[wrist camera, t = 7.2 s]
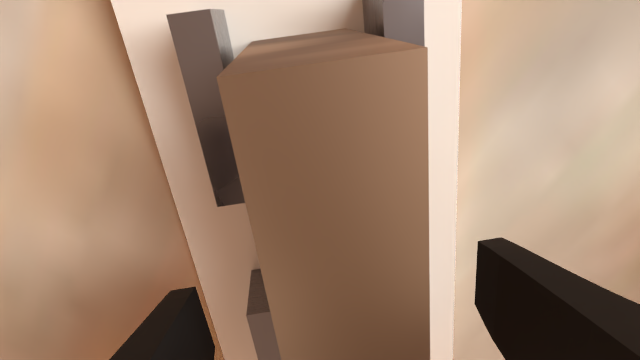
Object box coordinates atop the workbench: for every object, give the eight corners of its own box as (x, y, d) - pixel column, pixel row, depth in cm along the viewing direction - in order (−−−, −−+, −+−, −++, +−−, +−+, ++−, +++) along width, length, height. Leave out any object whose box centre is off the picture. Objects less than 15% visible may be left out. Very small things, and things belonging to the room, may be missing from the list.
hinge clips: (395, -14, 11) (423, -21, 9) (409, 340, 17) (428, 388, 15) (189, 14, 11) (166, 14, 9) (273, 363, 17) (272, 416, 14)
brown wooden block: (371, 24, 11) (485, 38, 5) (390, 324, 16) (461, 524, 10) (252, 40, 11) (215, 76, 5) (307, 338, 16) (325, 550, 10)
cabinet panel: (446, -94, 11) (463, -106, 10) (442, 344, 19) (453, 364, 18) (110, -51, 11) (92, -58, 10) (240, 379, 18) (237, 402, 17)
